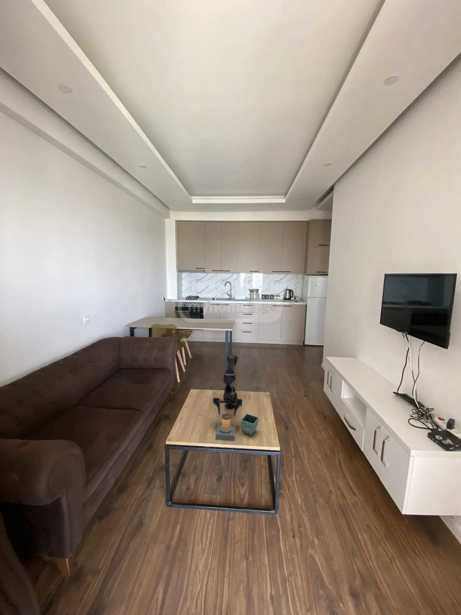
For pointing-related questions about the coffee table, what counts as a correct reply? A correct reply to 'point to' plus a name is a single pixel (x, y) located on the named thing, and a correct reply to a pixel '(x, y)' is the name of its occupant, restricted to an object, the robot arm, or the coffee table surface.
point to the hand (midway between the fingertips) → (226, 415)
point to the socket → (225, 434)
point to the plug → (226, 424)
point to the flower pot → (249, 423)
